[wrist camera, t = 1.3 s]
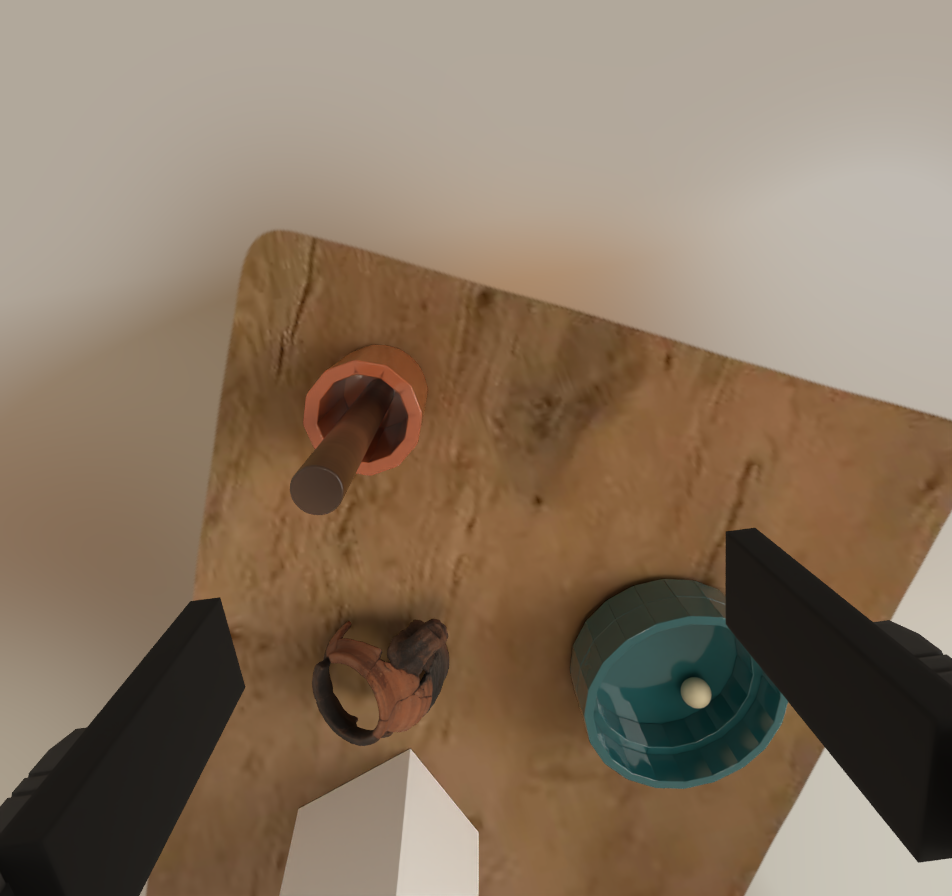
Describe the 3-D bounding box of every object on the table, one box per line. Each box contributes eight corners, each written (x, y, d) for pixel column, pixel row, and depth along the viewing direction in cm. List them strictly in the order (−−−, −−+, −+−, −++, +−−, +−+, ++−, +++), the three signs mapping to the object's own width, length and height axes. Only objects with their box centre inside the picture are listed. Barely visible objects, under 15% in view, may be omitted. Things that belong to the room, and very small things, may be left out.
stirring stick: (377, 372, 40) (310, 455, 21) (400, 390, 40) (354, 487, 21) (360, 394, 40) (278, 494, 21) (382, 411, 41) (322, 525, 22)
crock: (372, 325, 40) (351, 336, 31) (445, 385, 41) (444, 412, 32) (316, 396, 41) (280, 426, 32) (389, 452, 42) (373, 496, 34)
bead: (690, 665, 48) (702, 685, 46) (709, 680, 49) (722, 700, 46) (670, 684, 48) (681, 704, 46) (689, 699, 49) (701, 720, 47)
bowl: (660, 539, 45) (691, 577, 40) (785, 644, 49) (830, 692, 43) (531, 668, 48) (542, 721, 42) (657, 759, 51) (684, 819, 46)
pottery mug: (422, 715, 50) (361, 780, 42) (352, 633, 52) (283, 682, 45) (500, 638, 44) (444, 698, 37) (418, 550, 46) (351, 591, 39)
